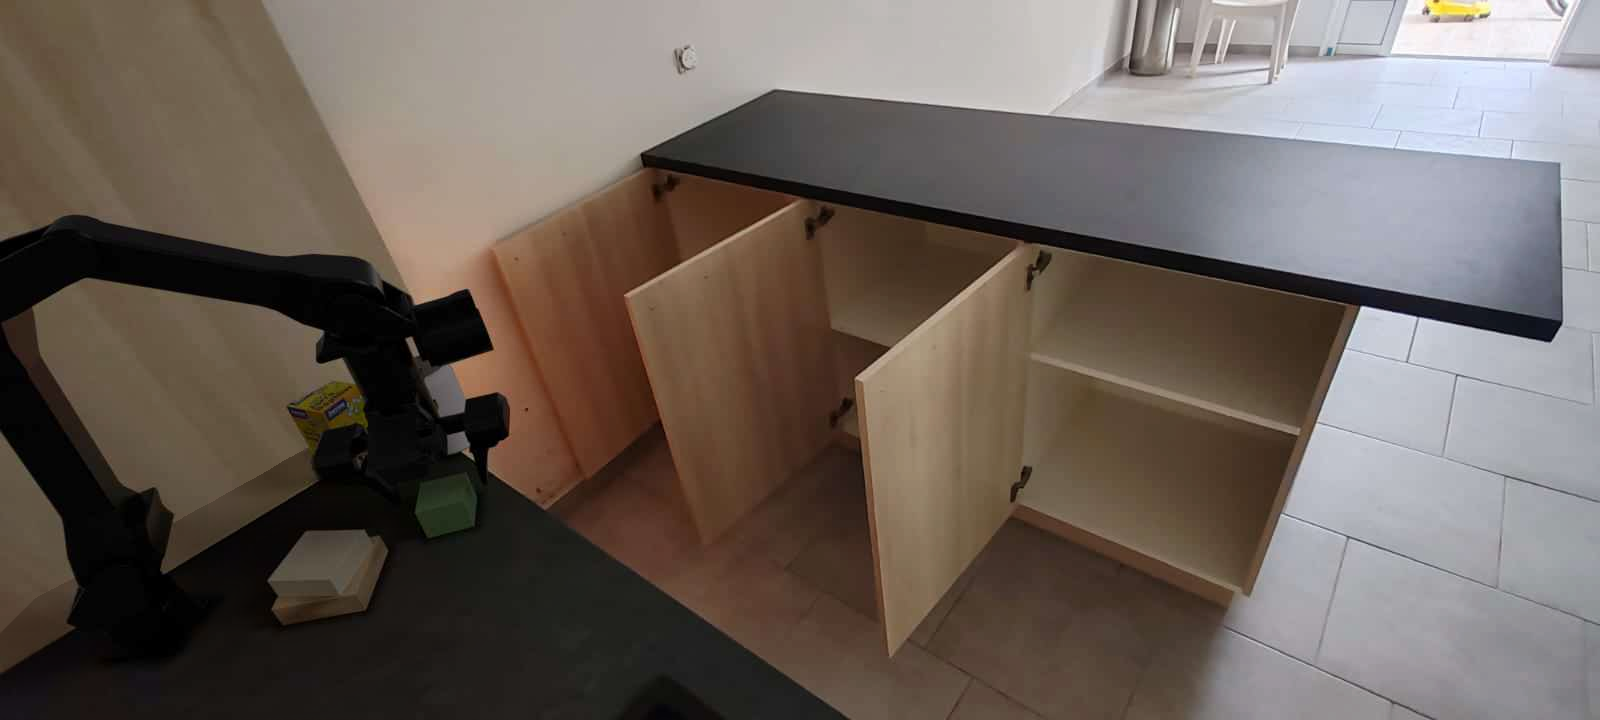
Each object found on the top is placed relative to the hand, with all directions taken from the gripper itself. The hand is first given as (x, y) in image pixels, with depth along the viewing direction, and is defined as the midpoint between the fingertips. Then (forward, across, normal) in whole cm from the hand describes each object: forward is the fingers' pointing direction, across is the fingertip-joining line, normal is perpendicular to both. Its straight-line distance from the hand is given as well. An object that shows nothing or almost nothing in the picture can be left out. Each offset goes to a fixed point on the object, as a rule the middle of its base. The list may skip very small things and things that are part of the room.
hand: (443, 492), depth 83 cm
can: (+4, -1, +15) cm, 15 cm away
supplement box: (+4, -13, +15) cm, 20 cm away
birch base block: (+4, -11, -6) cm, 13 cm away
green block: (+4, 0, 0) cm, 4 cm away
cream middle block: (+1, -11, -6) cm, 13 cm away
